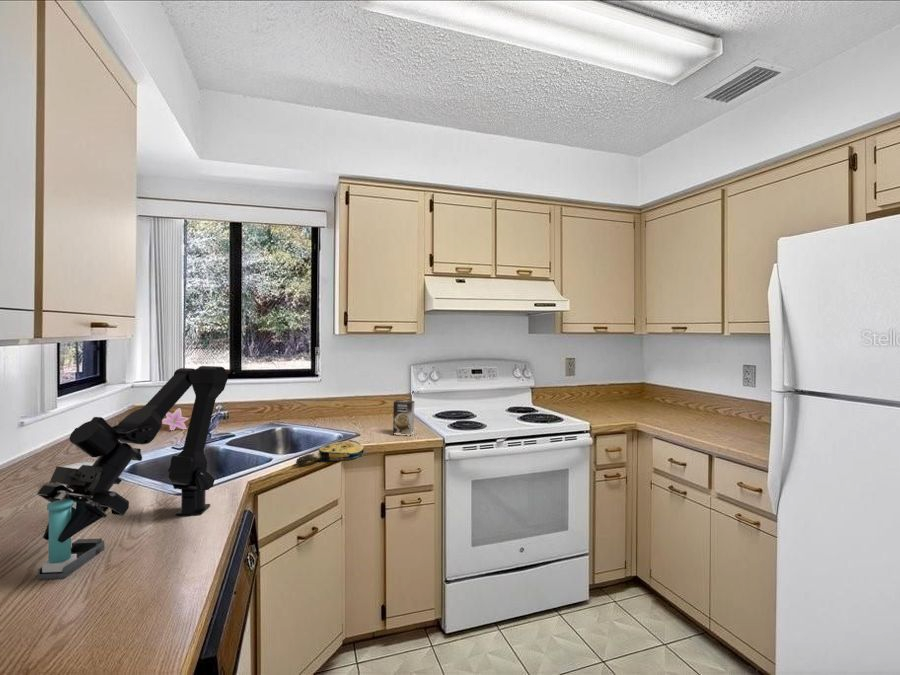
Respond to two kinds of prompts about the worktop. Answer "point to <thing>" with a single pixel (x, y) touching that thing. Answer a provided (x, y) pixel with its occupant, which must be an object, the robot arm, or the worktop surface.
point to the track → (84, 553)
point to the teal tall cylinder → (57, 523)
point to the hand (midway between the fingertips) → (52, 540)
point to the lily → (175, 420)
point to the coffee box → (403, 417)
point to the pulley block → (336, 452)
